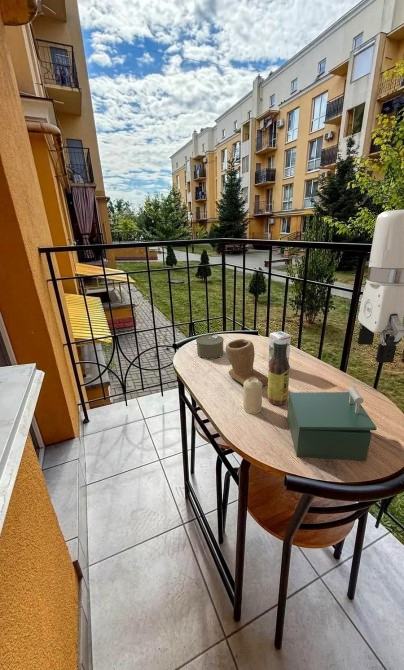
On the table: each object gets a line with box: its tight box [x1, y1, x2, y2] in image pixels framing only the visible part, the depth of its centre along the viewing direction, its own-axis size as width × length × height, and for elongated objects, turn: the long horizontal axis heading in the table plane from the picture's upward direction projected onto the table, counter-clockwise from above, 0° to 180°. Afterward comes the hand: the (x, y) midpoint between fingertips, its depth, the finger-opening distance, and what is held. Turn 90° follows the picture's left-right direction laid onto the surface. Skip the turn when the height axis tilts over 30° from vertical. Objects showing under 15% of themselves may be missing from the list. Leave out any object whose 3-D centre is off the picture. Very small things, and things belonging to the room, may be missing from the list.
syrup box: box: [267, 330, 292, 368], centre depth 107 cm, size 6×6×14 cm
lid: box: [288, 385, 378, 431], centre depth 69 cm, size 16×15×5 cm
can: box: [195, 334, 224, 359], centre depth 124 cm, size 12×12×7 cm
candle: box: [242, 377, 263, 414], centre depth 84 cm, size 6×6×10 cm
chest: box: [286, 395, 372, 462], centre depth 71 cm, size 16×15×8 cm
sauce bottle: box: [267, 340, 291, 406], centre depth 86 cm, size 7×6×20 cm
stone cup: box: [225, 338, 268, 387], centre depth 99 cm, size 15×12×15 cm
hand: (373, 352), depth 63 cm, fingers open, 9 cm apart
